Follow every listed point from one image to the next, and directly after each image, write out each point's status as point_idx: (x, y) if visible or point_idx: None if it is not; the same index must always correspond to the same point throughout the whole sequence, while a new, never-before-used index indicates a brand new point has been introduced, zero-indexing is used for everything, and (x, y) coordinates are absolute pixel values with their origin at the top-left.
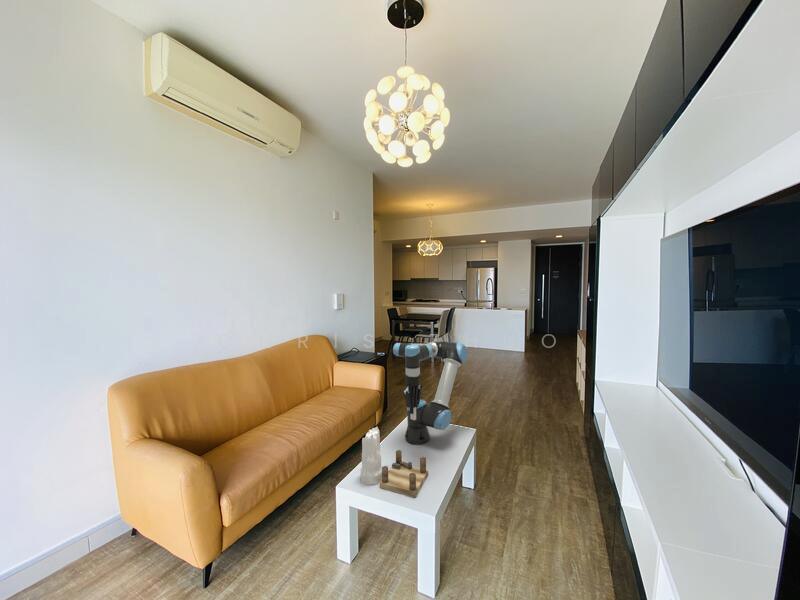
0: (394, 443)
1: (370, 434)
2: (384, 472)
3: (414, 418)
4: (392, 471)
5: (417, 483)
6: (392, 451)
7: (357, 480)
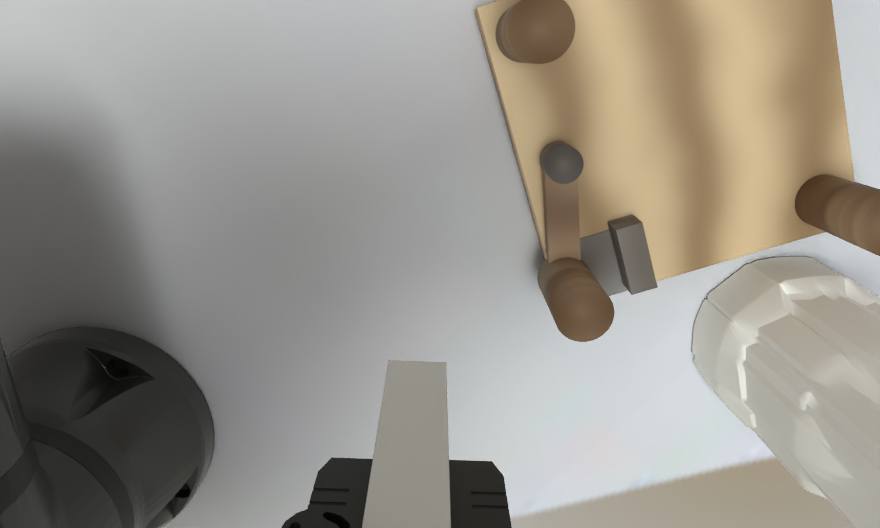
0: (303, 510)
1: None
2: None
3: (440, 380)
4: (682, 241)
5: None
6: None
7: None
